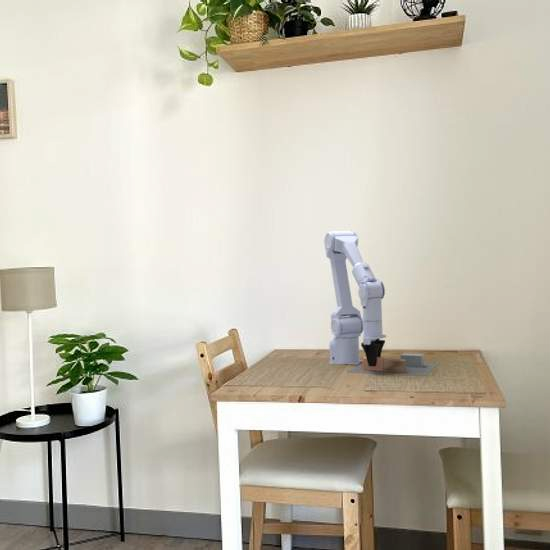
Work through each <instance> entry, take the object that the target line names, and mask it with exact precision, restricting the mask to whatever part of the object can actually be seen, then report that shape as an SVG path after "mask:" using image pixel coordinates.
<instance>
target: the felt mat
mask: <svg viewBox="0 0 550 550" xmlns="http://www.w3.org/2000/svg"><path fill="white" fill-rule="evenodd" d="M438 365H439V363H429V362H427V363H426V362H424V366H423V367H406V373H386V374H384V372H383V371H374V370H363V368H362V362H360V363H358V364H356V366H355V367H352V368H350V369H349V370H348V371H346V373H353V374H354V373H355V374H379V375H398V376H399V375H400V376H401V375H402V376H403V375H404V376H418V377H419V376H421V377H425V376H426V377H427V376H428V375H429V374H430V373H432V371H433V370H434V369H435V368H436V367H437V366H438Z"/></svg>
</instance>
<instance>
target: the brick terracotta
mask: <svg viewBox="0 0 550 550" xmlns="http://www.w3.org/2000/svg"><path fill="white" fill-rule="evenodd" d="M361 360H362V361H361V363H362V368H363V370H374V371H383V360H386V357H385V356H384V357H383V356H381V357H377V363H376V366H369V365H368V362H367V358H366V356H364V357H362V358H361Z"/></svg>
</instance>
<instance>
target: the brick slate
mask: <svg viewBox="0 0 550 550" xmlns="http://www.w3.org/2000/svg"><path fill="white" fill-rule="evenodd" d="M400 359H405V361H406V367H423V366H424V363H425V362H424V361H425V359H424V354H423V353H402V354H401V355H400Z"/></svg>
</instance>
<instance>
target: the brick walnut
mask: <svg viewBox="0 0 550 550" xmlns="http://www.w3.org/2000/svg"><path fill="white" fill-rule="evenodd" d="M383 372H384V374H383V375H387V374H386V373H406V361H405V359H401V358H395V359H387V358H386V359H385V360H383Z"/></svg>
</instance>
